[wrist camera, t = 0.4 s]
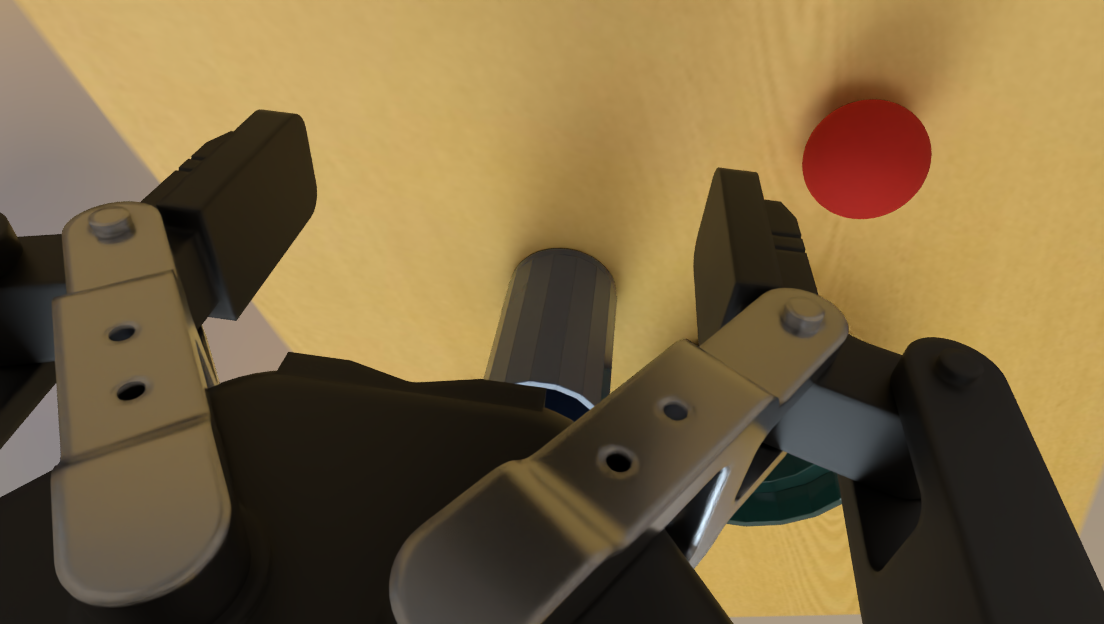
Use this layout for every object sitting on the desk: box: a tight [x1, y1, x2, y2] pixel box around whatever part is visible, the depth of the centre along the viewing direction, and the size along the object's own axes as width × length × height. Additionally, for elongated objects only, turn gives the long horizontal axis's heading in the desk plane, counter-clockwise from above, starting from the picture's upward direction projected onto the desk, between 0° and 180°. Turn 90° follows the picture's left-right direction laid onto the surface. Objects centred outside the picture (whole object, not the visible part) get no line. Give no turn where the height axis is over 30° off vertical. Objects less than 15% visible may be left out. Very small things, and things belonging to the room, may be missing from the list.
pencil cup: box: [484, 248, 617, 422], centre depth 35 cm, size 6×6×10 cm
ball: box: [802, 99, 932, 219], centre depth 29 cm, size 5×5×5 cm
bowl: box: [726, 453, 842, 526], centre depth 41 cm, size 13×13×5 cm
